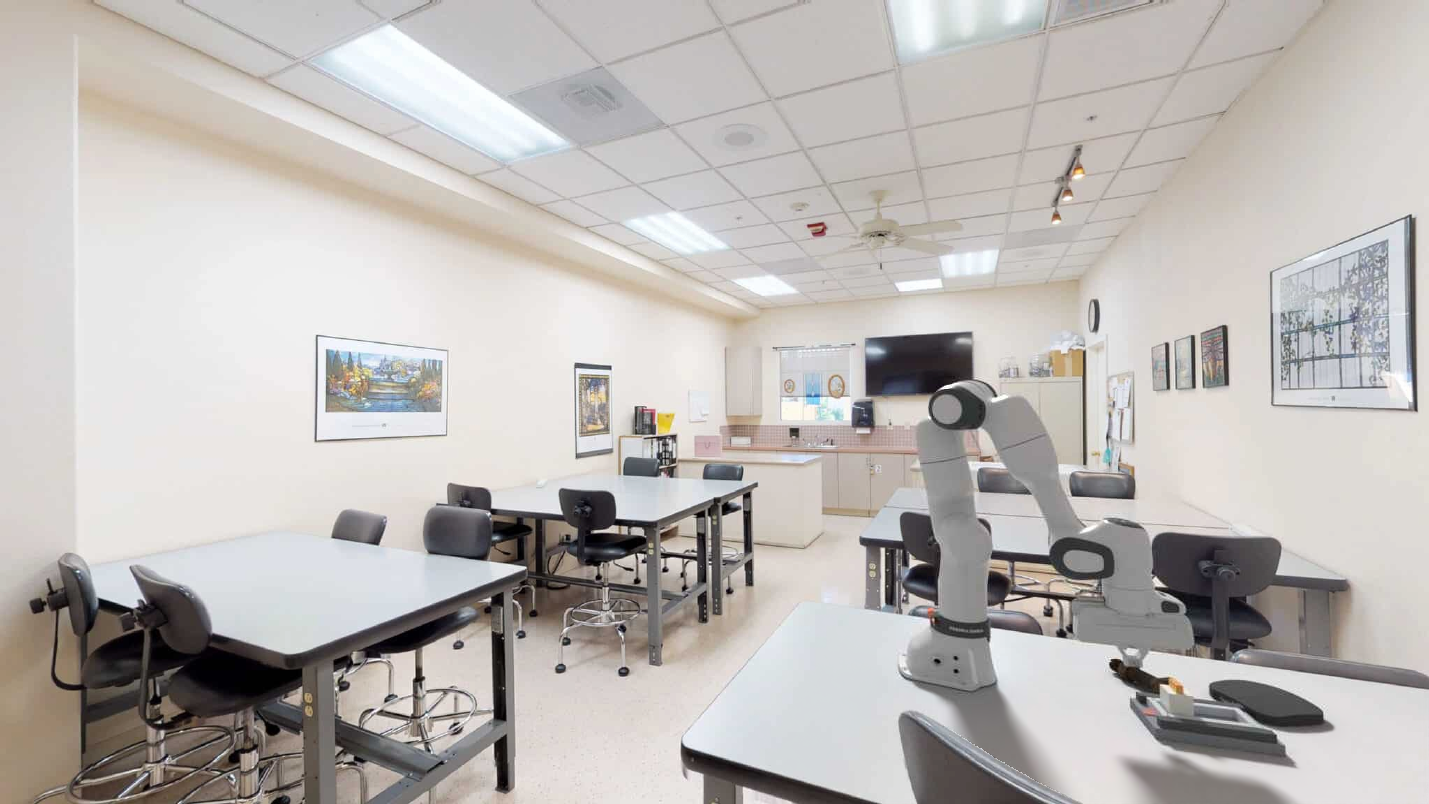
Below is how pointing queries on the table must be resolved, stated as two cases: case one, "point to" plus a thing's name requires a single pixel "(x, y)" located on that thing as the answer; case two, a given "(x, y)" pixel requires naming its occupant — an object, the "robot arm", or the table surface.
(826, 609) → the table surface
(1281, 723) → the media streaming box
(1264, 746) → the panel
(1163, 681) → the dark brown lumpy rod
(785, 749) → the table surface
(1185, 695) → the toggle
